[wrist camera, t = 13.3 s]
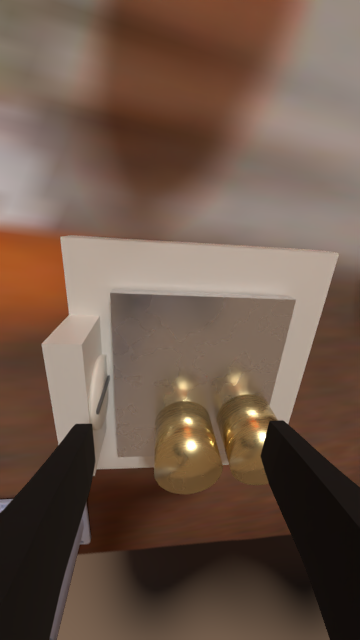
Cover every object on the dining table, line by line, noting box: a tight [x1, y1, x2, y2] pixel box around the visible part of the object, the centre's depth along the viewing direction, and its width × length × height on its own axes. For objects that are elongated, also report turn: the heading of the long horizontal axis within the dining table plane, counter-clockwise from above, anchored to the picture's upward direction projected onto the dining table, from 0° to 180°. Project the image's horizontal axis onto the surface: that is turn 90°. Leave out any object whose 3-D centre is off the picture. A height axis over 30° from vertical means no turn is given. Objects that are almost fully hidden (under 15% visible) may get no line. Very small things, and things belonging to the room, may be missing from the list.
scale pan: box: [110, 289, 296, 457], centre depth 18 cm, size 12×14×1 cm
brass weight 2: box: [217, 394, 278, 485], centre depth 18 cm, size 4×4×4 cm
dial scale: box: [42, 235, 339, 476], centre depth 18 cm, size 18×20×6 cm
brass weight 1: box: [154, 401, 223, 494], centre depth 17 cm, size 4×4×4 cm
